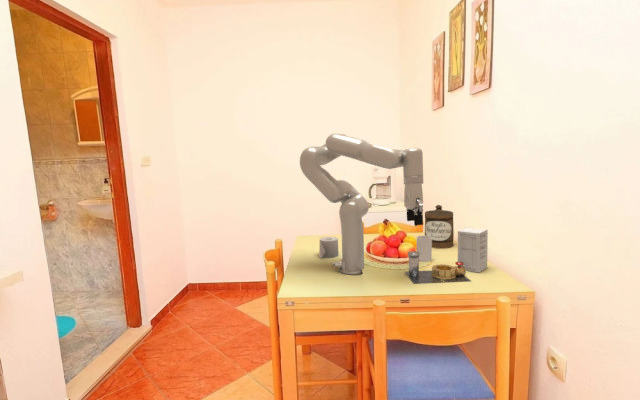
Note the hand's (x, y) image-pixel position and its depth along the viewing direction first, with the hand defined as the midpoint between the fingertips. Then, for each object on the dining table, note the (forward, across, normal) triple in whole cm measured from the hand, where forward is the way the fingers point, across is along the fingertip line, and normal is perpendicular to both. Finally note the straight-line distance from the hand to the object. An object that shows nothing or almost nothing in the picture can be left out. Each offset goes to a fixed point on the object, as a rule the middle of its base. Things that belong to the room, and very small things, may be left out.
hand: (414, 222), depth 140 cm
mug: (+23, -20, +10) cm, 32 cm away
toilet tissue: (+22, -37, -33) cm, 54 cm away
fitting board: (+23, +4, +6) cm, 24 cm away
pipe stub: (+21, +1, -1) cm, 21 cm away
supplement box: (+23, -7, +27) cm, 36 cm away
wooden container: (+23, -47, +28) cm, 59 cm away
